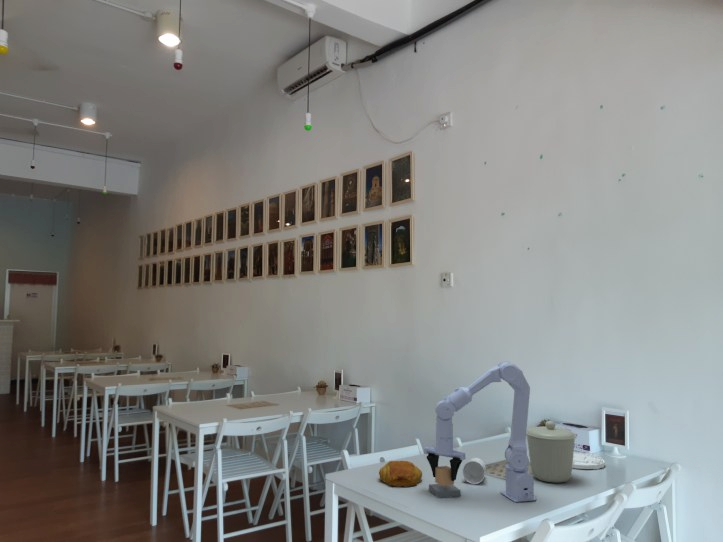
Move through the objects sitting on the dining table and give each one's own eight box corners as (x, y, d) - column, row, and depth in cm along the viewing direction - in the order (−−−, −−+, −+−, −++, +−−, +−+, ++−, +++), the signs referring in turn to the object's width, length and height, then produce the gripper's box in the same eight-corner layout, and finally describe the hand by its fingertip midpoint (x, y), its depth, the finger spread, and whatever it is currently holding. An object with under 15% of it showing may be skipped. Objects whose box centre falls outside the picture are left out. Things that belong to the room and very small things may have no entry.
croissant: (381, 481, 202) (379, 459, 203) (423, 477, 201) (420, 454, 202) (378, 492, 188) (375, 468, 189) (422, 488, 186) (419, 464, 188)
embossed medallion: (542, 463, 224) (542, 455, 225) (569, 455, 236) (569, 448, 236) (587, 474, 208) (587, 466, 209) (614, 465, 220) (614, 458, 220)
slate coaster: (460, 496, 179) (460, 490, 179) (437, 498, 177) (438, 491, 177) (450, 488, 187) (450, 482, 187) (428, 490, 185) (428, 484, 185)
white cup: (491, 473, 200) (488, 479, 191) (471, 481, 202) (468, 487, 193) (481, 452, 203) (478, 457, 193) (462, 460, 204) (458, 465, 195)
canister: (582, 477, 202) (581, 420, 204) (570, 489, 187) (569, 427, 189) (534, 469, 212) (533, 414, 214) (519, 480, 198) (518, 421, 199)
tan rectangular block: (453, 484, 181) (453, 469, 182) (442, 486, 179) (442, 470, 180) (446, 480, 185) (446, 465, 186) (435, 482, 183) (435, 467, 184)
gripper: (469, 438, 183) (469, 479, 181) (430, 432, 191) (430, 471, 190) (460, 441, 177) (460, 484, 176) (421, 435, 185) (421, 476, 184)
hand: (444, 478), depth 182 cm, fingers closed on tan rectangular block, 6 cm apart
